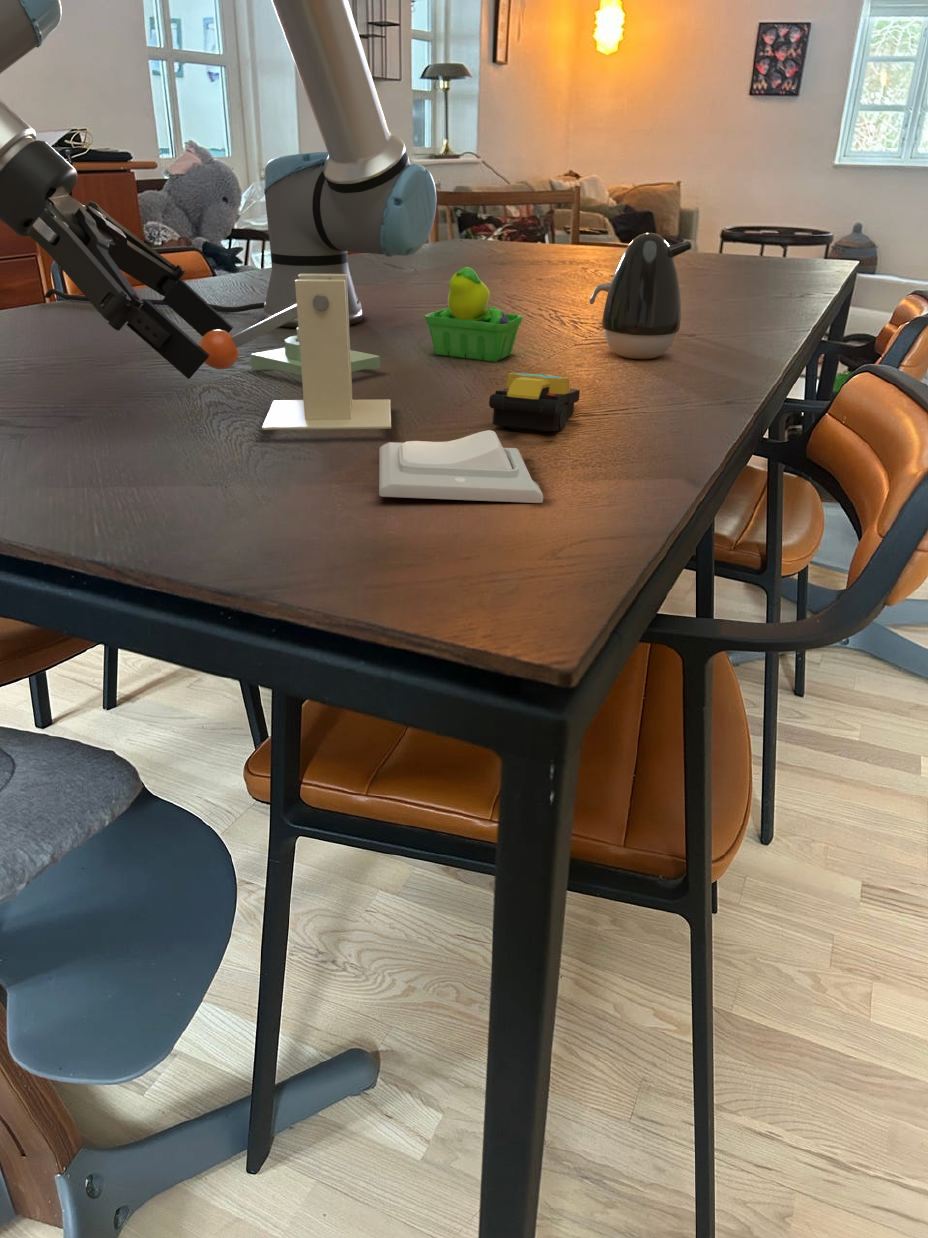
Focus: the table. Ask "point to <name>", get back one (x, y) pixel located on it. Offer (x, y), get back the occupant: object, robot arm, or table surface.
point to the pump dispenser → (644, 299)
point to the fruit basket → (472, 322)
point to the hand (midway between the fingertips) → (213, 351)
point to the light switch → (456, 470)
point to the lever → (240, 339)
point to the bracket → (325, 365)
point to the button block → (291, 360)
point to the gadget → (534, 402)
